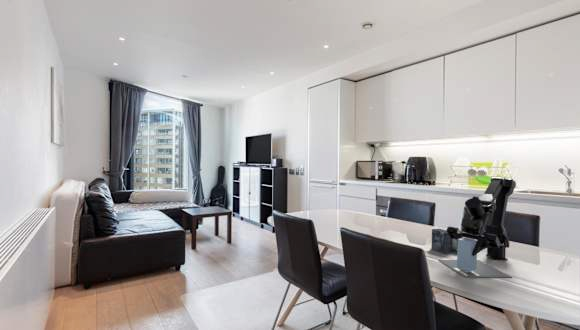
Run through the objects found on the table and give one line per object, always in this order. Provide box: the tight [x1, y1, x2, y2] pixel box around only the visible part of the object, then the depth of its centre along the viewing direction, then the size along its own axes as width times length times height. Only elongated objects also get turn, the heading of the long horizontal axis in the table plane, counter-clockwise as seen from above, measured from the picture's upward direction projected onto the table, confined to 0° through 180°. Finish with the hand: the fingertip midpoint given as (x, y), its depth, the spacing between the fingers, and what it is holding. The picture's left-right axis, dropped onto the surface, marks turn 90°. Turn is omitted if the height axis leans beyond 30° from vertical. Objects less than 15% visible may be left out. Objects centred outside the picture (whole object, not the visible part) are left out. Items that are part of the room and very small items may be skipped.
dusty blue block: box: [456, 238, 478, 272], centre depth 117 cm, size 5×5×12 cm
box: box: [431, 228, 453, 255], centre depth 146 cm, size 8×6×11 cm
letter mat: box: [438, 259, 512, 279], centre depth 122 cm, size 19×19×1 cm
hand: (465, 253), depth 117 cm, fingers closed on dusty blue block, 5 cm apart
